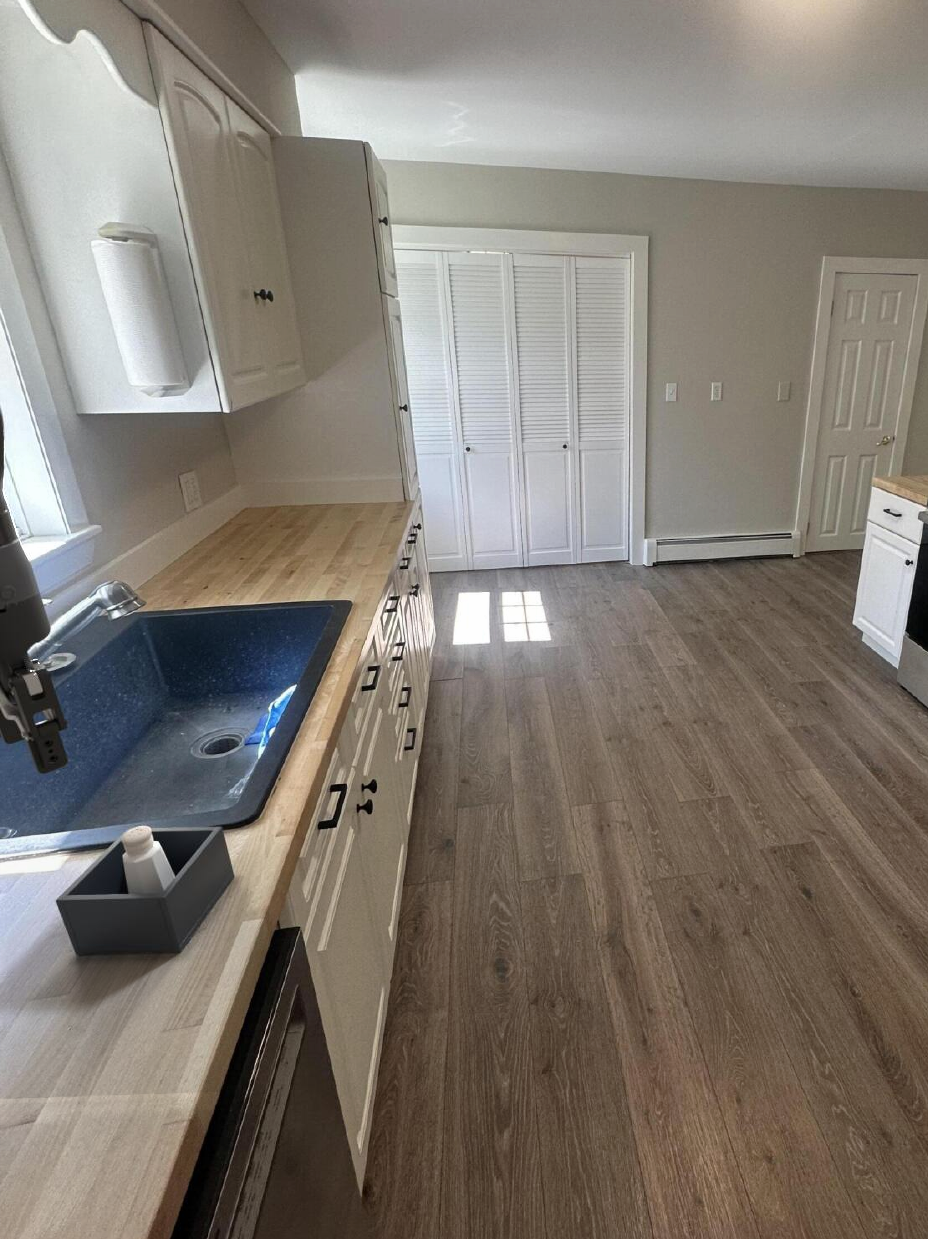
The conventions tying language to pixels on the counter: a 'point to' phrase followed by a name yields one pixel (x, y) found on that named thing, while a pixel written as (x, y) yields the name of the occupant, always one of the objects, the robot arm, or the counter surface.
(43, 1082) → the counter surface
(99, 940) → the bin
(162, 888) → the pepper shaker
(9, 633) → the robot arm
